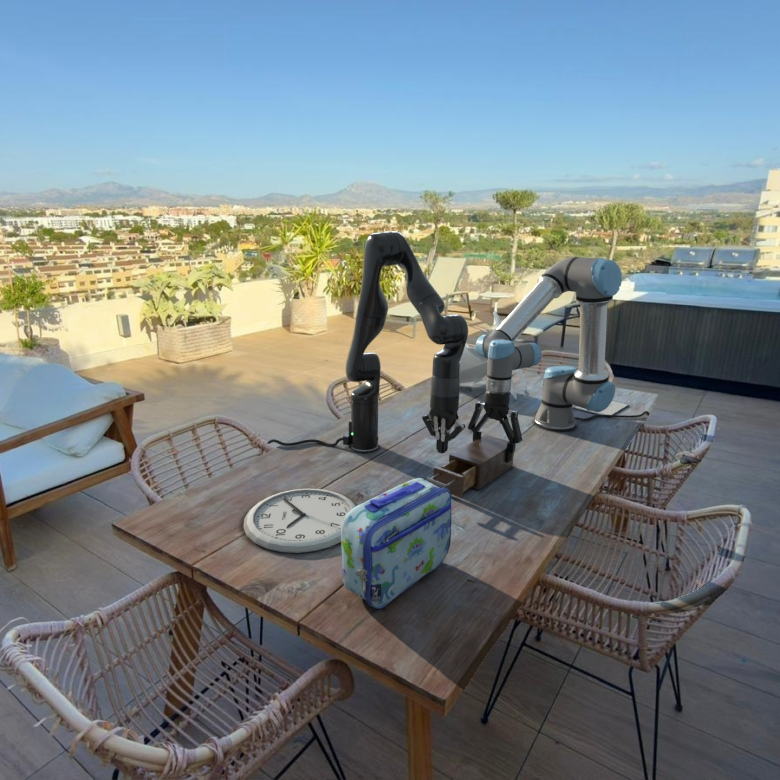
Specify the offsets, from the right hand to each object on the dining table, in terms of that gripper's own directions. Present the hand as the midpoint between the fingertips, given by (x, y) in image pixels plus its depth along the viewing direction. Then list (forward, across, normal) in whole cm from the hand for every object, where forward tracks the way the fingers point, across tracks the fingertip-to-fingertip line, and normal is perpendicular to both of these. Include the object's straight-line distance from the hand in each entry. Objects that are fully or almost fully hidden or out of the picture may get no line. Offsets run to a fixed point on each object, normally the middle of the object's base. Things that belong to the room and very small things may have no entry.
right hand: (492, 456), depth 167 cm
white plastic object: (+3, -43, +66) cm, 79 cm away
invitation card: (+3, +7, +84) cm, 84 cm away
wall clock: (+3, -21, -61) cm, 65 cm away
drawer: (+2, 0, -19) cm, 19 cm away
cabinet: (+3, 0, -7) cm, 7 cm away
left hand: (-11, 0, -30) cm, 32 cm away
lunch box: (+3, +13, -64) cm, 66 cm away
